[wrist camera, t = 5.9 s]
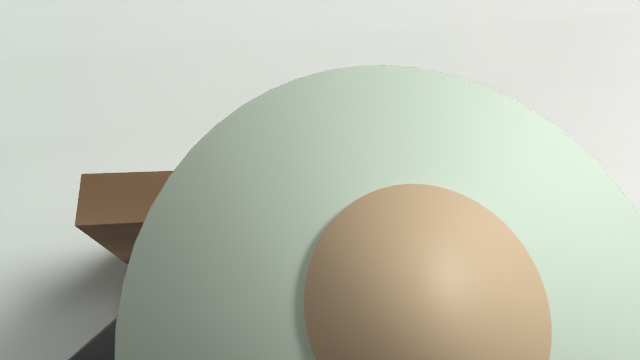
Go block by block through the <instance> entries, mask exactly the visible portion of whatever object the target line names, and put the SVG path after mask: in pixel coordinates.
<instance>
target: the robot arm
mask: <svg viewBox="0 0 640 360" xmlns="http://www.w3.org/2000/svg"><path fill="white" fill-rule="evenodd" d="M116 322H117V318H116V319H114V320H113V321H112V322H111V323H110V324H109V325H107V326H106V327H105V328H104V329H103V330H102V331H101V332H99V333H98V334H97V335H96V336H95V337H94V338H93V339H91V340H90V341H89V342H88V343H87V344H86V345H85V346H83V347H82V348H81V349H80V350H79V351H78V352H76V353H75V354H74V355H73V356H72V357H71V358H70V359H68V360H115V330H116Z"/></svg>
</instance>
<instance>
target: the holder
mask: <svg viewBox="0 0 640 360" xmlns="http://www.w3.org/2000/svg"><path fill="white" fill-rule="evenodd" d="M172 173H173V171H158V172H128V173H99V174H82V175H81V183H80V191H79V198H78V206H77V213H76V221H75V226H76V227H77V228H79V229H80V230H81V231H83V232H84V233H86V234H87V235H88V236H90V237H91V238H92V239H94V240H95V241H97V242H98V243H99V244H101V245H102V246H103V247H105V248H106V249H107V250H109V251H110V252H112V253H113V254H114V255H116V256H117V257H118V258H120V259H121V260H123V261H124V262H125V263H127V264H129V260H130V257H131V254H132V250H133V247H134V244H135V241H136V239H137V237H138V235H139V232H140V230H141V228H142V226H143V223H144V221H145V219H146V217H147V214H148V212H149V210H150V208H151V206H152V204H153V203H154V201H155V199H156V198H157V196H158V194H159V193H160V191H161V190H162V188H163V186H164V185H165V183H166V181H167V180H168V178H169V176H170V175H171V174H172Z"/></svg>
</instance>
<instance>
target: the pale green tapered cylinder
mask: <svg viewBox="0 0 640 360" xmlns="http://www.w3.org/2000/svg"><path fill="white" fill-rule="evenodd" d="M115 360H640V214H639V213H638V211H637V210H636V208H635V207H634V206H633V204H632V203H631V202H630V200H629V199H628V198H627V196H626V195H625V193H624V192H623V191H622V189H621V188H620V187H619V186H618V185H617V184H616V183H615V181H614V180H613V179H612V178H611V177H610V176H609V175H608V173H607V172H606V171H605V170H604V169H603V168H602V167H601V166H600V164H599V163H598V162H596V161H595V160H594V159H593V158H592V157H591V156H590V155H589V154H588V153H587V152H586V151H585V150H584V149H583V148H582V147H581V146H579V145H578V144H577V143H576V142H575V141H574V140H573V139H571V138H570V137H569V136H568V135H566V134H565V133H564V132H562V131H561V130H560V129H559V128H557V127H556V126H555V125H553V124H552V123H551V122H550V121H548V120H546V119H545V118H543V117H542V116H540V115H539V114H537V113H535V112H534V111H532V110H531V109H529V108H528V107H526V106H524V105H523V104H521V103H519V102H517V101H515V100H513V99H511V98H509V97H507V96H505V95H503V94H501V93H499V92H497V91H495V90H492V89H490V88H487V87H485V86H482V85H480V84H477V83H475V82H472V81H470V80H466V79H463V78H459V77H456V76H452V75H449V74H445V73H442V72H437V71H431V70H425V69H419V68H414V67H402V66H387V65H377V66H354V67H348V68H341V69H335V70H329V71H324V72H320V73H316V74H313V75H309V76H306V77H302V78H299V79H296V80H293V81H291V82H288V83H286V84H284V85H281V86H279V87H276V88H274V89H271V90H269V91H267V92H265V93H264V94H262V95H260V96H258V97H257V98H255V99H253V100H251V101H250V102H248V103H246V104H244V105H242V106H241V107H240V108H238V109H237V110H236V111H234V112H233V113H232V114H230V115H229V116H228V117H226V118H225V119H224V120H222V121H221V122H220V123H218V124H217V125H216V126H215V127H214V128H212V129H211V130H210V131H209V132H208V133H207V134H206V135H205V136H204V137H203V138H202V139H201V140H200V141H199V142H198V143H197V144H196V145H195V146H194V147H193V148H192V149H191V150H190V151H189V153H188V154H187V155H186V156H185V158H184V159H183V160H182V161H181V163H180V164H179V165H178V166H177V168H176V169H175V170H174V171H173V173H172V174H171V175H170V176H169V178H168V180H167V181H166V183H165V185H164V186H163V188H162V190H161V191H160V193H159V194H158V196H157V198H156V199H155V201H154V203H153V204H152V206H151V208H150V210H149V212H148V214H147V217H146V219H145V221H144V223H143V226H142V228H141V230H140V232H139V235H138V237H137V239H136V241H135V244H134V247H133V250H132V254H131V257H130V260H129V264H128V267H127V270H126V274H125V277H124V281H123V284H122V290H121V297H120V303H119V309H118V315H117V322H116V330H115Z"/></svg>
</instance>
